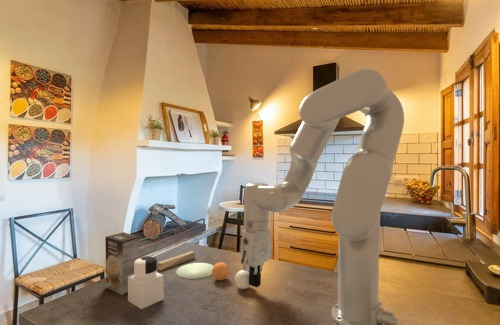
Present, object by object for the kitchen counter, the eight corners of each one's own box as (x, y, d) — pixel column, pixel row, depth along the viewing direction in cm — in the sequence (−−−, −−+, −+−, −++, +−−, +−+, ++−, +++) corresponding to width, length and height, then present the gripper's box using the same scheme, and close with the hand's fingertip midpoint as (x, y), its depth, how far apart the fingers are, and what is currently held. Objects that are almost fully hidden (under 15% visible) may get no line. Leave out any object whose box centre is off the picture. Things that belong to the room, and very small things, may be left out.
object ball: (232, 279, 95) (232, 262, 95) (220, 284, 91) (220, 267, 91) (220, 274, 99) (220, 258, 99) (208, 280, 94) (208, 263, 94)
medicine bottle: (150, 292, 86) (150, 252, 86) (164, 299, 81) (163, 257, 81) (127, 301, 80) (127, 259, 80) (141, 310, 76) (140, 265, 76)
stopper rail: (195, 258, 115) (195, 251, 115) (160, 270, 102) (160, 263, 102) (191, 257, 116) (191, 250, 116) (157, 269, 103) (157, 262, 103)
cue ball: (258, 274, 88) (245, 263, 92) (247, 280, 84) (234, 269, 87) (253, 289, 90) (240, 278, 93) (241, 295, 85) (229, 284, 89)
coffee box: (104, 287, 89) (103, 236, 89) (123, 280, 94) (123, 231, 94) (121, 295, 84) (121, 241, 84) (140, 287, 89) (140, 236, 89)
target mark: (224, 269, 103) (224, 268, 103) (194, 282, 92) (194, 282, 92) (198, 260, 112) (198, 260, 112) (168, 271, 101) (168, 271, 101)
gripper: (250, 232, 77) (249, 299, 77) (280, 222, 89) (278, 280, 89) (230, 227, 81) (228, 290, 82) (260, 218, 93) (259, 273, 94)
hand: (254, 285), depth 86 cm, fingers closed
